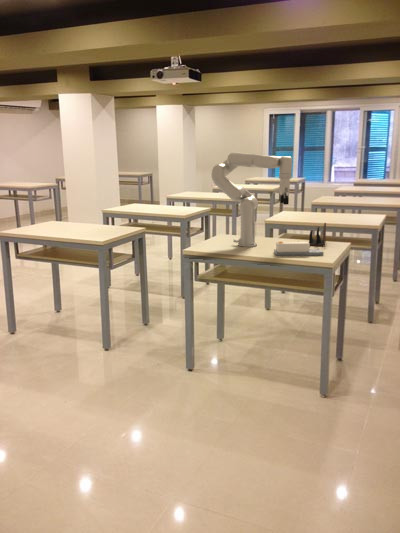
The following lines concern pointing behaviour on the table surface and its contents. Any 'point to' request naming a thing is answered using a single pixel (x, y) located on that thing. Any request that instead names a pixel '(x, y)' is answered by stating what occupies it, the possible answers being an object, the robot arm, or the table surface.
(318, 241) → the letter holder
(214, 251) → the table surface
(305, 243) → the power strip
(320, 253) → the mounting plate
